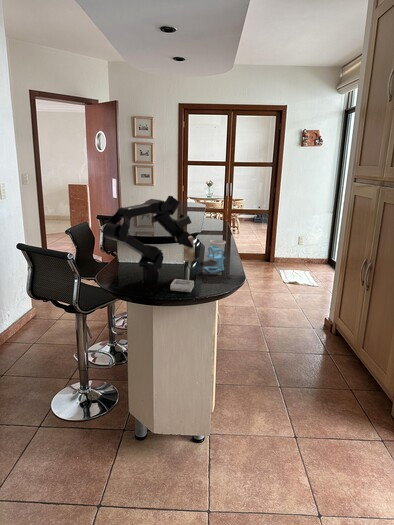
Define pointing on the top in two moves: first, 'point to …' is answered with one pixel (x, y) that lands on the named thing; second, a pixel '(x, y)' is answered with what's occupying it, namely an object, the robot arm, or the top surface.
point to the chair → (216, 257)
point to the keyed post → (189, 252)
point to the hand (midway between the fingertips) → (191, 246)
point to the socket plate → (182, 285)
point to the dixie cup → (217, 245)
